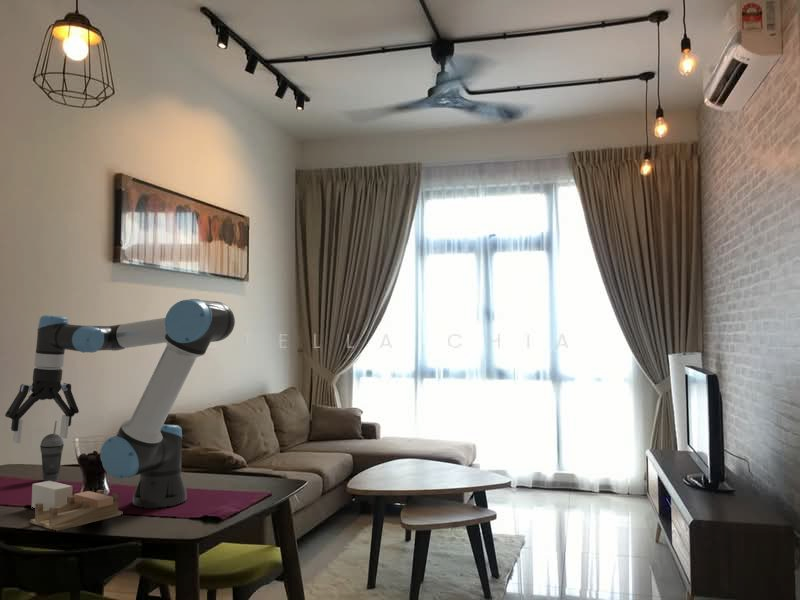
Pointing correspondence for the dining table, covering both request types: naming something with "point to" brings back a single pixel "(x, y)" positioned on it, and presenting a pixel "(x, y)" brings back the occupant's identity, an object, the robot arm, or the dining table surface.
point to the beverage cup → (51, 455)
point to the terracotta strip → (94, 499)
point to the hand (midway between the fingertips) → (40, 439)
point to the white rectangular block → (50, 494)
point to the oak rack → (74, 513)
